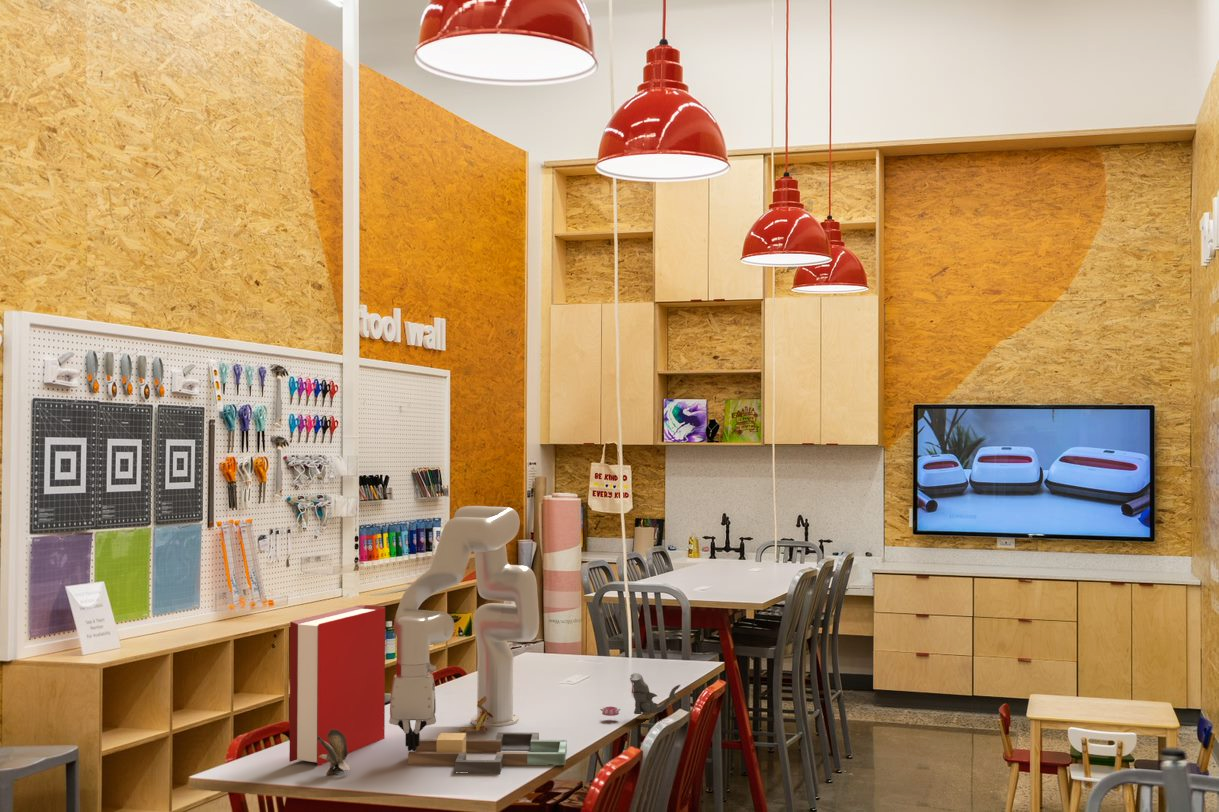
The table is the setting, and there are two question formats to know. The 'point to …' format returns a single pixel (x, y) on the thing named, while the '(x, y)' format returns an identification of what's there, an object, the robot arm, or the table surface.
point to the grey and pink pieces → (642, 698)
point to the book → (337, 680)
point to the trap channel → (538, 755)
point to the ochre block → (451, 742)
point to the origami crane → (482, 717)
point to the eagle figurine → (335, 752)
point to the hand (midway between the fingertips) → (412, 749)
